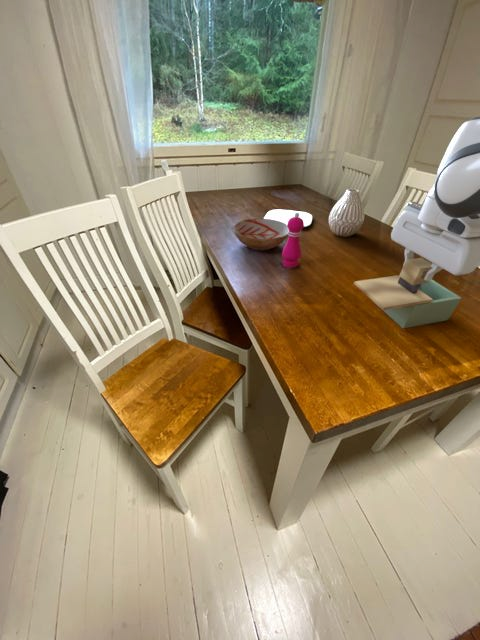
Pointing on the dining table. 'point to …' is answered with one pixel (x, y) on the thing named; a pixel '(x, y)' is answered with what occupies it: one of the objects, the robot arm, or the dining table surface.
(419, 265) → the block
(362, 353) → the dining table surface
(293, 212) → the plate
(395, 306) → the lid
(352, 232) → the vase
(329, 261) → the dining table surface
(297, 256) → the pepper mill
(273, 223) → the bowl
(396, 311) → the box
